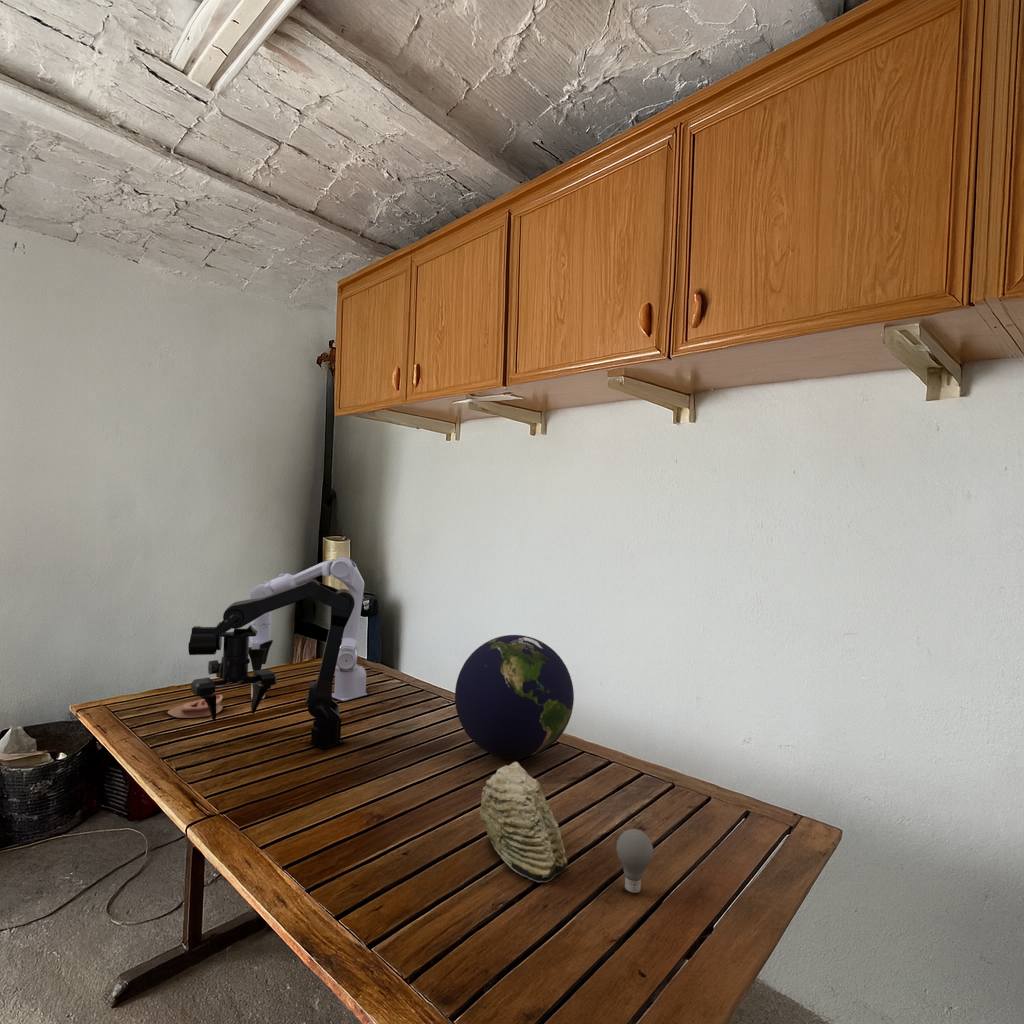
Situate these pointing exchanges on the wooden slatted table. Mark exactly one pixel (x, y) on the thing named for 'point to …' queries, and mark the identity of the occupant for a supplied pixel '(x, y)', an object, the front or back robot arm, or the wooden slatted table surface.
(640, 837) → the light bulb
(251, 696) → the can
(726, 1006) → the wooden slatted table surface
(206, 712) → the anatomical model
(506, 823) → the fossil
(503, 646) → the globe
